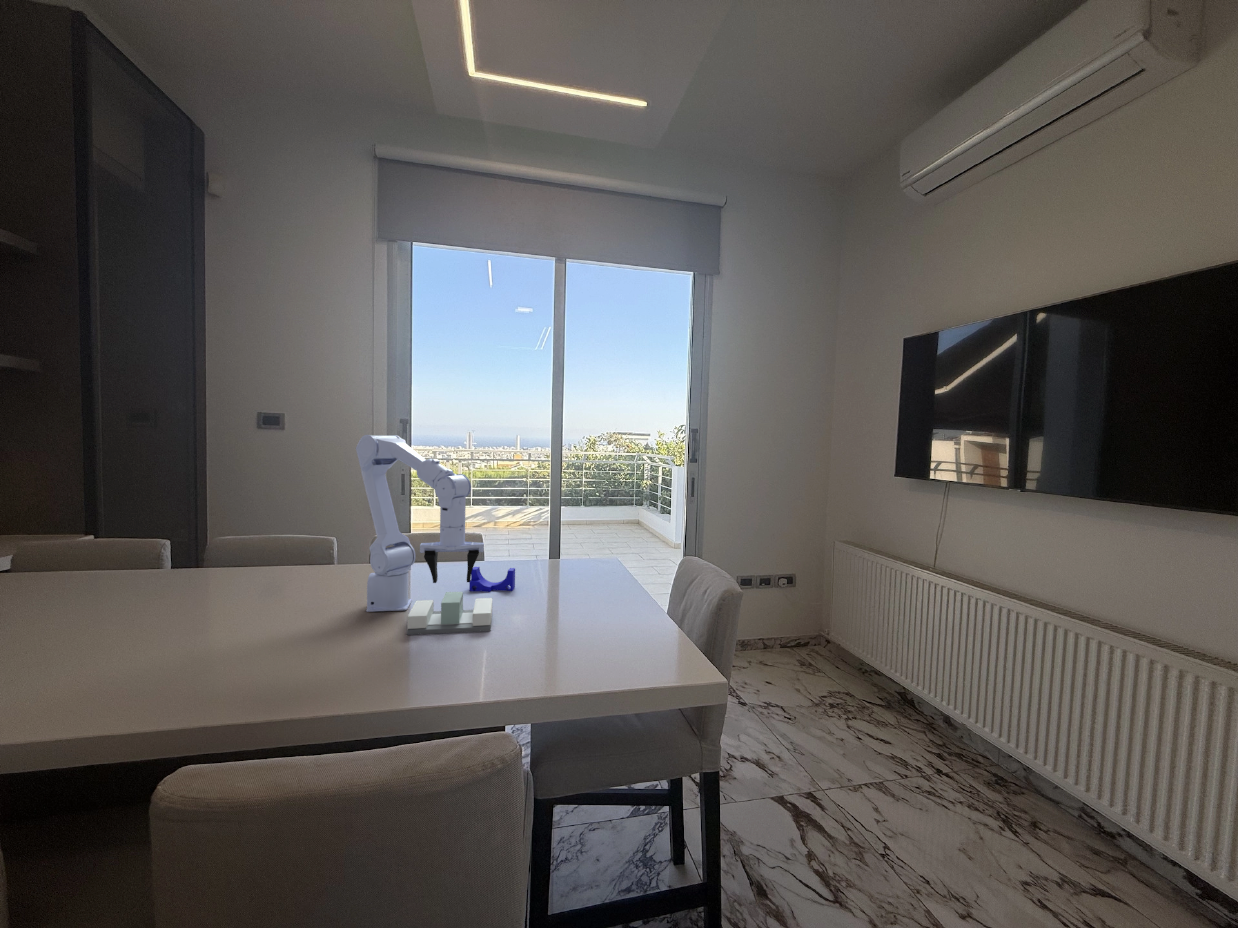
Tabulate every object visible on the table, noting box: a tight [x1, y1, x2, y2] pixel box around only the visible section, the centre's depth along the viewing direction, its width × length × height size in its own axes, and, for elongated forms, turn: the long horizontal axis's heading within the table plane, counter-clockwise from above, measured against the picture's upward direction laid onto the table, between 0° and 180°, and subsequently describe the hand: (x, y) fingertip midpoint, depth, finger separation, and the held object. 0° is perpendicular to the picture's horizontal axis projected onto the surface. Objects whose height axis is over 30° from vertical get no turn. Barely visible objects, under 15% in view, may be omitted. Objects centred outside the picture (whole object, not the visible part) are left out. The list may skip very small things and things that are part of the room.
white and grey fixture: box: [406, 597, 493, 636], centre depth 123 cm, size 18×12×4 cm, turn 102°
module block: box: [440, 591, 464, 624], centre depth 124 cm, size 4×8×5 cm, turn 11°
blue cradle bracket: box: [468, 566, 516, 593], centre depth 151 cm, size 12×4×6 cm, turn 89°
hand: (451, 581), depth 125 cm, fingers open, 7 cm apart
